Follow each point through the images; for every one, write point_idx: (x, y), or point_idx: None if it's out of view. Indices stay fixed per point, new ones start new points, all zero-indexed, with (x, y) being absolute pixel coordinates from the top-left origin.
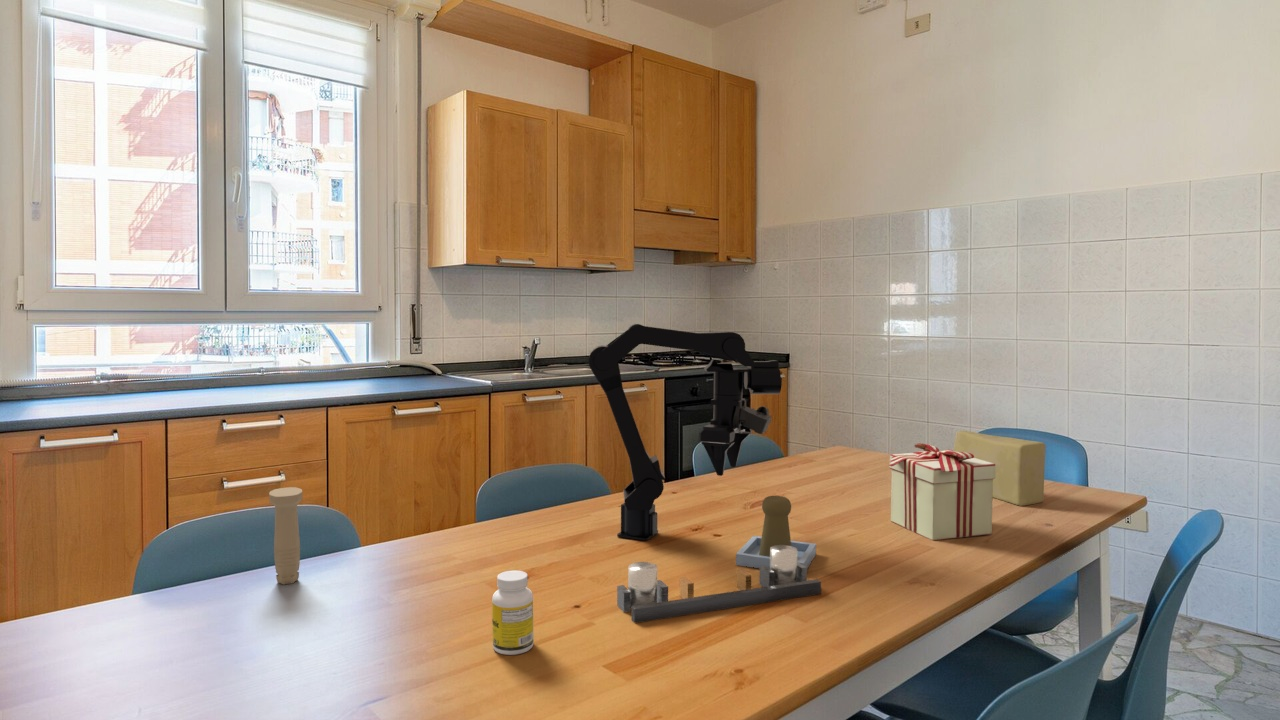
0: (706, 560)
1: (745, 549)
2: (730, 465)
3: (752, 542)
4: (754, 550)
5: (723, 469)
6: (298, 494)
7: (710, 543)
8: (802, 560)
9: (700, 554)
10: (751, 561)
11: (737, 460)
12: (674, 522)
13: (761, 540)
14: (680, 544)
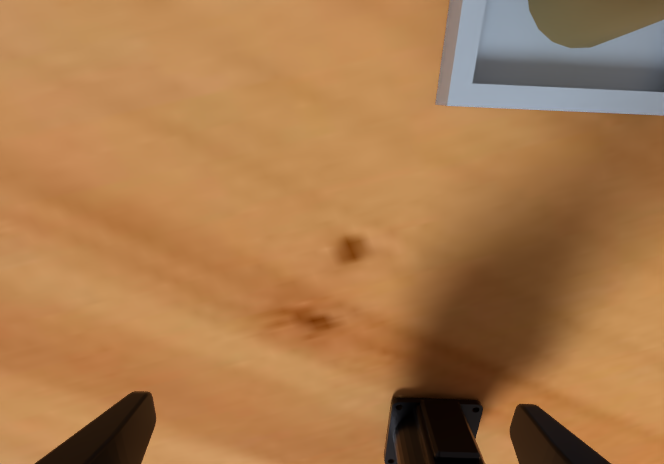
0: (622, 214)
1: (641, 94)
2: (152, 431)
3: (542, 87)
4: (533, 78)
5: (578, 444)
6: None
7: (446, 246)
8: None
9: (565, 245)
10: None
11: (94, 429)
12: (272, 388)
13: (648, 25)
14: (480, 319)
